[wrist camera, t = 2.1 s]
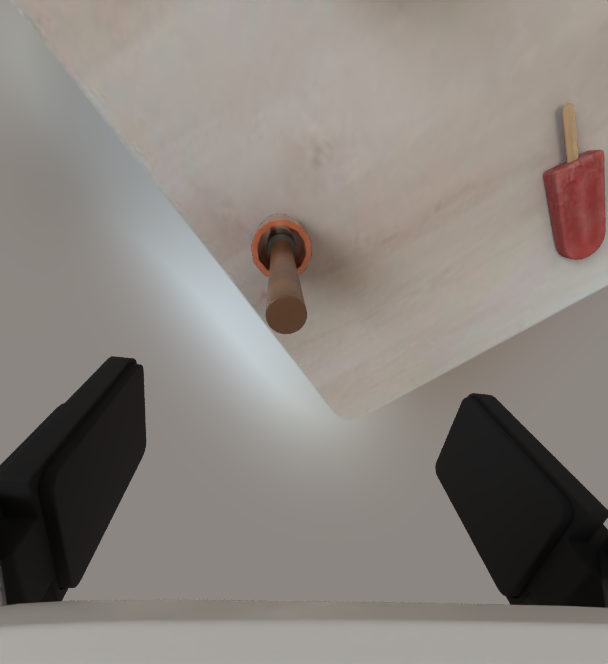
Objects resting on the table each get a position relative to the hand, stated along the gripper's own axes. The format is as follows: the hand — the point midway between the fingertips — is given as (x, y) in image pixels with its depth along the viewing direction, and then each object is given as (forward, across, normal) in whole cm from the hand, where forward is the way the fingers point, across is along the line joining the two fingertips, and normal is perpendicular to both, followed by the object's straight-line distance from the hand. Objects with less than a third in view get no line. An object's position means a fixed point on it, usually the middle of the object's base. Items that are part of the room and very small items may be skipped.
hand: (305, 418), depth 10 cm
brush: (+26, +1, -1) cm, 26 cm away
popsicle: (+27, -27, -10) cm, 39 cm away
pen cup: (+26, +1, -1) cm, 26 cm away
